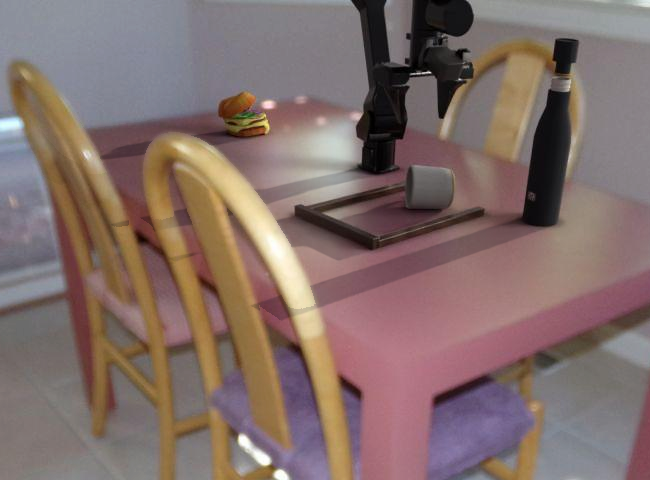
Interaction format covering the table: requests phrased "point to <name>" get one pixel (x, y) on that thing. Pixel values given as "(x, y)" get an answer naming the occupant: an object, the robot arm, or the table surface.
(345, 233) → the brown wooden flat frame
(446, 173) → the ceramic mug
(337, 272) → the table surface
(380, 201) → the table surface
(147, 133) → the table surface
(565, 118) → the black bottle
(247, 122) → the cheeseburger
